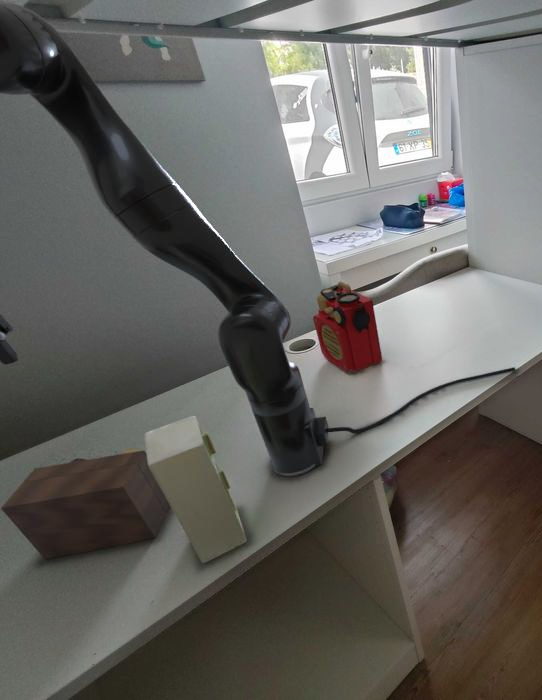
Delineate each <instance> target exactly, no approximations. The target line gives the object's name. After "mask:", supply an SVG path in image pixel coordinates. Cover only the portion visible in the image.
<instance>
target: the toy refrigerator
mask: <svg viewBox="0 0 542 700" xmlns="http://www.w3.org/2000/svg"><path fill="white" fill-rule="evenodd" d="M143 440H144V446H145V452H146V454H147V462H148V466H149V468H150V470H151V472H152V474H153V476H154V477H155V479H156V481H157V483H158V484H159V486H160V488H161V490H162V492H163V493H164V495H165V497H166V499H167V501H168V502H169V504H170V508H171V510H172V511H173V513H174V515H175V517H176V519H177V520H178V522H179V524H180V526H181V527H182V529H183V531H184V533H185V535H186V537H187V539H188V541H189V542H190V543H191V544H190V545H191V546H192V548H193V550H194V551H195V553H196V555H197V556H198V558H199V560H200V562H201V563H202V564H206V563H208V562H210V561H212V560H214V559H216V558H218V557H220V556H222V555H224V554H226V553H228V552H230V551H232V550H234V549H236V548H238V547H240V546H242V545H243V544H246V543H247V542H248V539H247V535H246V533H245V529H244V526H243V523H242V520H241V518H240V517H241V516H240V514H239V511H238V509H237V506H236V504H235V501H234V499H233V498H232V496H231V493H230V491H229V489H231V486H230V484H229V481H228V479H227V477H226V474H225V471H224V469H223V468H219V465H218V464H217V462H216V460H215V456H214V455H215V454H216V453H217V450H216V448H215V446H214V443H213V442H212V439H211V437H210V435H209V432H208V431H204V432H203V430H202V427H201V425H200V423H199V421H198V419H197V417H196V416H195V415H191V416H189V417H185V418H183V419H180V420H177V421H174V422H172V423H169V424H166V425H163V426H161V427H157V428H155V429H152V430H149V431H147V432H145V433H144V435H143Z"/></svg>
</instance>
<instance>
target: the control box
mask: <svg viewBox="0 0 542 700" xmlns="http://www.w3.org/2000/svg"><path fill="white" fill-rule="evenodd" d="M170 508H171V506H170V504H169V502H168V501H167V499H166V497H165V495H164V493H163V492H162V490H161V488H160V486H159V484H158V483H157V481H156V479H155V477H154V476H153V474H152V472H151V470H150V468H149V466H148V462H147V454H146V449H145V450H139V451H138V452H131V453H125V454H122V453H119V454H113V455H108V456H107V455H106V456H100V457H96V458H95V457H94V458H89V459H87V458H74V459H71V460H70V461H69V462H66V463H59V464H58V463H57V464H53V465H47V466H40V467H35V468H34V469H33V470H32V471H31V472H30V473H29V475H28V476H27V477H26V478H25V479H24V480H23V481H22V483H21V484H20V485H19V486H18V487H17V488H16V490H15V491H13V493H12V495H10V497H9V498H8V499H7V500H6V501H5V503H4V504H3V505H2V506H1V507H0V509H1V510H2V512H3V513H4V514H5V515H6V517H8V519H9V520H10V521H11V522H12V523H13V524H14V525H15V527H16V528H17V529H18V530H19V531H20V533H21V534H22V535H23V536H24V537H25V538H26V540H27V541H28V542H29V543H30V544H31V545H32V546H33V548H34V549H35V550H36V551H37V552H38V553H39V555H40V556H41V557H42V558H43V559H44V560H51V559H55V558H56V559H57V558H61V557H67V556H70V555H76V554H82V553H86V552H87V553H88V552H92V551H97V550H103V549H107V548H108V549H109V548H113V547H118V546H124V545H128V544H129V545H130V544H133V543H139V542H143V541H148V540H154V539H156V538H157V536H158V534H159V532H160V529H161V527H162V525H163V523H164V520H165V518H166V516H167V514H168V512H169V509H170Z"/></svg>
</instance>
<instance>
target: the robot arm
mask: <svg viewBox="0 0 542 700" xmlns="http://www.w3.org/2000/svg"><path fill="white" fill-rule="evenodd" d="M0 94H1V95H3V94H4V95H10V96H18V95H19V96H21V95H29V96H31V98H32V99H34V100H35V101H36V102H37V103H38V104H39V105H40V106H41V107H42V108H43V109H44V110H45V111H46V112H47V113H48V114H49V115H50V117H52V118H53V119H54V121H55V122H56V123H57V124H58V125H59V126H60V127H61V129H63V131H64V132H65V133H66V134H67V136H69V138H70V139H71V141H72V142H73V143H74V146H75V147H76V149H77V151H78V152H79V154H80V156H81V159H82V161H83V164H84V166H85V167H86V168H85V169H86V171H87V174H88V176H89V178H90V179H89V180H90V182H91V184H92V186H93V188H94V191H95V193H96V195H97V197H98V198H99V201H100V203H101V204H102V205H103V207H104V209H106V211H107V212H108V213H109V214H110V215H111V217H112V218H114V219H115V220H116V221H117V223H119V225H120V226H121V227H122V228H123V229H124V231H126V232H127V233H128V234H129V235H130V236H131V238H133V240H135V241H136V242H137V243H138V245H140V246H141V247H142V248H143V249H144V250H146V251H148V253H149V254H152V255H153V256H155V257H156V258H158V259H159V260H161V261H163V262H165V263H166V264H169V265H171V266H172V267H174V268H176V269H178V270H180V271H182V272H184V273H185V274H187V275H189V276H190V277H193V278H194V279H196V280H197V281H198V282H200V283H201V284H202V285H203V286H204V287H206V288H207V289H208V290H209V291H210V292H211V293H212V294H213V295H214V296H215V297H216V299H217V300H218V301H219V302H220V303H221V304H222V305H223V307H224V308H225V310H226V311H227V312H228V313H227V314H226V315H225V316H224V317H223V319H222V320H221V321H220V323H219V326H218V330H217V336H218V337H217V338H218V343H219V346H220V349H221V351H222V354H223V357H224V358H225V361H226V363H227V365H228V368H229V370H230V372H231V374H232V377H233V379H234V380H235V382H236V384H237V385H238V386H239V387H240V388H241V389H242V390H243V391H244V392H245V395H246V398H247V400H248V403H249V406H250V409H251V411H252V414H253V417H254V420H255V422H256V424H257V427H258V430H259V433H260V435H261V437H262V441H263V443H264V446H265V448H266V451H267V454H268V457H269V460H270V463H271V466H272V468H273V471H274V473H276V474H278V475H280V476H283V477H296V476H300V475H304V474H306V473H308V472H310V471H311V470H313V469H314V468H316V467H321V466H322V464H323V457H324V446H328V441H329V433H336V432H348V433H351V434H361V433H364V432H367V431H369V430H371V429H374V428H377V427H378V426H380V425H382V424H384V423H386V422H387V421H389V420H391V419H393V418H394V417H396V416H398V415H399V414H401V413H403V411H405V410H406V409H407V408H408V407H410V406H411V405H412V404H414V403H416V402H417V401H419V400H420V399H422V398H425V397H426V396H428V395H430V394H432V393H434V392H436V391H439V390H441V389H444V388H447V387H450V386H453V385H456V384H460V383H464V382H469V381H474V380H479V379H483V378H487V377H492V376H496V375H500V374H505V373H510V372H514V371H516V367H510V368H506V369H500V370H495V371H492V372H491V371H490V372H486V373H483V374H478V375H473V376H468V377H464V378H459V379H456V380H452V381H448V382H446V383H444V384H440V385H438V386H435V387H433V388H430V389H429V390H426V391H425V392H422V393H420V394H418V395H417V396H415V397H413V398H411V400H409V401H408V402H407V403H405V404H403V406H401V407H400V408H398V409H397V410H395V411H394V412H392V413H390V414H388V415H387V416H385V417H384V418H381V419H380V420H378V421H375V422H374V423H371V424H370V425H367V426H365V427H361V428H356V429H355V428H352V427H350V426H339V427H338V426H337V427H329V424H328V419H327V416H326V415H325V416H319V417H317V415H316V411H315V409H314V407H311V406H310V403H309V399H308V396H307V393H306V388H305V385H304V381H303V377H302V374H301V371H300V369H299V367H298V365H297V364H295V363H294V362H293V361H289V359H288V356H287V353H286V351H285V350H286V349H285V346H284V342H285V340H286V338H287V336H288V334H289V332H290V329H291V324H292V322H291V321H292V320H291V315H290V312H289V310H288V308H287V307H286V305H285V304H284V302H282V300H281V299H280V298H279V297H278V296H277V295H276V294H275V293H274V292H273V291H272V290H271V289H270V288H269V287H267V285H266V284H265V283H264V282H263V281H262V280H261V279H259V277H257V276H256V275H255V273H253V271H251V270H250V268H248V266H247V265H246V264H245V263H244V262H243V261H242V260H241V259H240V258H239V257H238V256H237V254H235V252H234V251H233V250H232V248H231V247H230V245H229V244H228V243H227V242H226V241H225V240H224V238H222V237H221V235H220V234H219V233H218V232H217V231H216V229H215V228H214V227H213V226H212V225H211V223H210V222H209V220H207V219H206V217H204V215H203V214H202V212H201V211H200V210H199V208H198V207H197V205H196V204H195V203H194V202H193V201H192V200H191V199H190V198H189V196H188V195H187V194H186V192H185V190H183V189H182V188H181V186H180V185H179V184H178V183H177V182H176V180H174V179H173V177H172V176H171V175H170V174H169V173H168V172H167V170H165V168H164V167H163V166H162V165H161V164H160V163H159V162H158V160H157V159H156V158H155V157H154V155H153V154H152V153H151V151H149V149H148V148H147V147H146V145H145V144H144V143H143V142H142V140H140V138H139V137H138V136H137V134H136V133H134V131H133V130H132V129H131V128H130V126H128V124H127V123H126V122H125V121H124V119H123V118H122V117H121V116H120V115H119V114H118V112H117V111H116V109H115V108H114V107H113V105H112V104H111V103H110V101H109V100H108V98H107V97H106V96H105V94H104V93H103V92H102V90H101V89H100V87H99V86H98V84H97V83H96V82H95V81H94V79H93V78H92V76H91V74H90V73H89V72H88V70H87V68H86V67H85V66H84V65H83V63H82V62H81V60H80V59H79V58H78V56H77V55H76V53H75V52H74V51H73V49H72V48H71V46H70V45H69V44H68V43H67V41H66V40H65V38H63V36H62V35H61V33H60V32H59V31H58V30H57V29H55V27H54V26H53V25H52V24H51V23H49V21H48V20H46V19H45V18H43V17H42V16H41V15H39V14H38V13H36V12H35V11H34V10H33V11H32V10H31V9H29V8H26V6H25V7H24V6H22V5H20V4H17V3H13V2H10V1H4V0H0ZM13 330H14V328H13V326H12V325H11V324H10V323H9V321H8V320H7V319H6V318H5V317H4V316H3V315H2V314H1V313H0V362H1V364H3V365H9V364H14V363H16V362H17V361H19V358H18V354H17V352H16V351H15V350H14V348H13V347H12V346H11V345H10V343H9V342H8V341H7V339H6V338H7V335H8V334H9V333H10V332H11V333H12V331H13Z"/></svg>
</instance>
